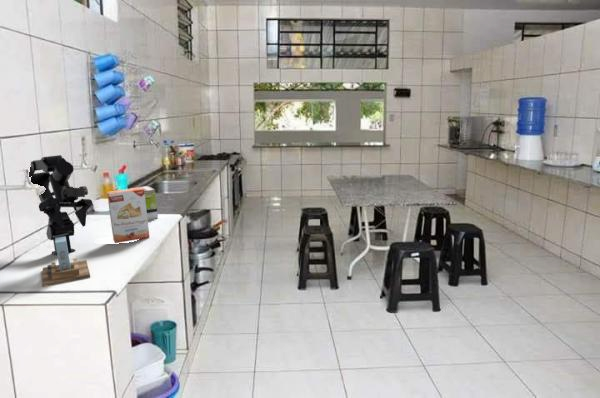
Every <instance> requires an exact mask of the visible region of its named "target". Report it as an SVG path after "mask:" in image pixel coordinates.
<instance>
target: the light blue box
mask: <svg viewBox="0 0 600 398" xmlns="http://www.w3.org/2000/svg"><path fill="white" fill-rule="evenodd" d="M55 245H56V250H57V255H56V256H57V261H58V265H59V268H60V271H65V270H70V269H71V266H70V263H71V261H70V254H69V253H68V248H67V242H66V236H65V237H58V238H55Z"/></svg>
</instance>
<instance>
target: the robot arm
mask: <svg viewBox="0 0 600 398" xmlns="http://www.w3.org/2000/svg"><path fill="white" fill-rule="evenodd" d="M30 166H31V167H30ZM30 166H29V167H30V172H29V177H31V176H32V177H31V182H32V183H33V184H38V185H40V186H44V187H45V188H46V190H45V192H44V193H43V194H41V195H39V196H38V198H39V200H40V202H39V204H38V209H39V211H40V212H43V214H46V215H47V216H48V223H47V228H46V237H47V239H48V240H50V241H53V247H54V251H51V252H52V253H51V254H53V253H54V254H53V255H56V254H57V250H56V245H55V238H58V237H65V236H66V242H67V248H68V254H69V253H72V252H76V249H74V248H72V246H71V240H70V237H71V236H74V235H75V223H74V222H73V220H72V219H71V218H70V216H69V214H68V212H66V211H61V209H62V208H73V210H74V214H75V216H76V217H77V219H78V222H79V223H80V225H81V227H86V224H87V212H88V210H90V209H91V207H92V206H94V203H93V201H92V199H91V198H85V197H86V196H87V195H88V194H89V190H88V187H87V186H85V185H84V186H83V185H82V186H79V187H73V186H71V185H70V182H69V179H70V178H71V177H72V174H73V172H74V166H73V164H72V163H71V162H69V161H67V160H66V159H65V158H64V157H63V156H62V155H61V154H58V155H50V156H43V157H41V158H40V159H35V160H32V161H30ZM41 170H42V172H37V171H41ZM50 185H51V188H52V192H51V190H50ZM79 198H81V199H79ZM77 200H78V201H77Z"/></svg>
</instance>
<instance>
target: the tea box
mask: <svg viewBox="0 0 600 398" xmlns="http://www.w3.org/2000/svg"><path fill="white" fill-rule="evenodd" d="M135 188H142V189H144V194H145V202H146V211H147V220H148V221H150V220H155V219H158V218H159V215H158V214H159V213H158V206H157V205H158V204H157V195H156V194H157V193H156V189H155V188H153V187H151V186H148V185H147V186H146V185H145V186H137V187H130V188H128V189H135Z"/></svg>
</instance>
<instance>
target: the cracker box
mask: <svg viewBox="0 0 600 398" xmlns="http://www.w3.org/2000/svg"><path fill="white" fill-rule="evenodd" d="M134 188H135V189H129V188H126V189H120V190H112V191H107V192H106V195H107V201H108V202H107V203H108V204H107V205H108V209H109V210H108V211H109V218H110V224H111V225H110V226H111V233H112V240H113V242H114V244H117V243H118V244H120V243H125V242H129V241H135V240H136V241H137V240H143V239H148V238H150V230H149V220H147V211H146V202H145V194H144V189H142V188H137V187H134Z"/></svg>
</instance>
